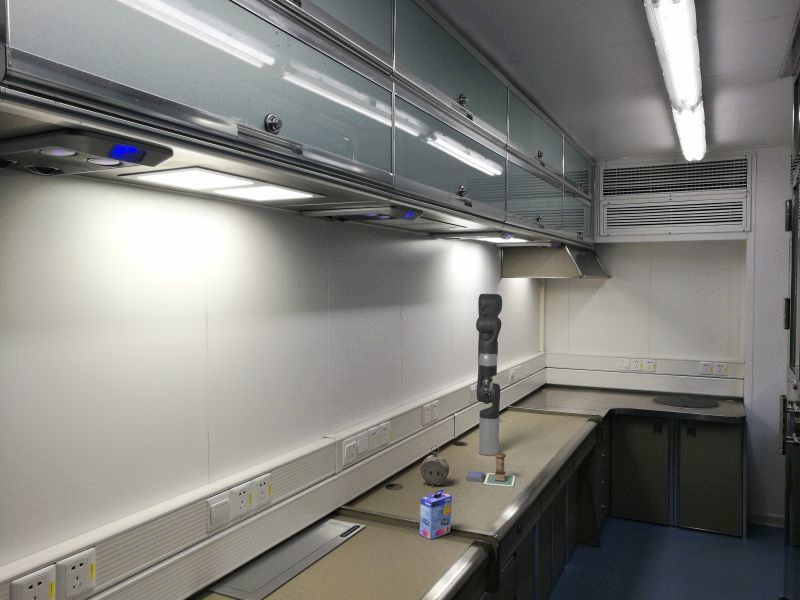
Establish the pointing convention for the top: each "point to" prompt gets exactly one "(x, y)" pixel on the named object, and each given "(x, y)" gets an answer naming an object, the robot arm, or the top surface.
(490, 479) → the green white framed board
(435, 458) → the alarm clock
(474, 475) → the ink pad
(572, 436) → the top surface
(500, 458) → the stamp
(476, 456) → the top surface
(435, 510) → the ink cartridge box
